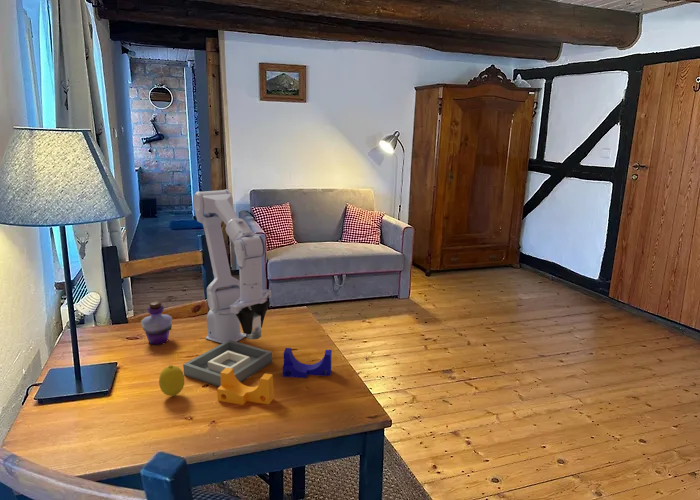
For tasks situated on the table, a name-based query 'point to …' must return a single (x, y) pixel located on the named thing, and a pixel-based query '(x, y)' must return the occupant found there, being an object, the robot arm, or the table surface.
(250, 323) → the robot arm
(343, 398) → the table surface
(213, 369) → the walled tray
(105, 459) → the table surface
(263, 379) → the pipe clamp
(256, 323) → the metal peg
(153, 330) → the potion bottle
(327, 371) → the blue cradle block
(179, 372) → the lemon
